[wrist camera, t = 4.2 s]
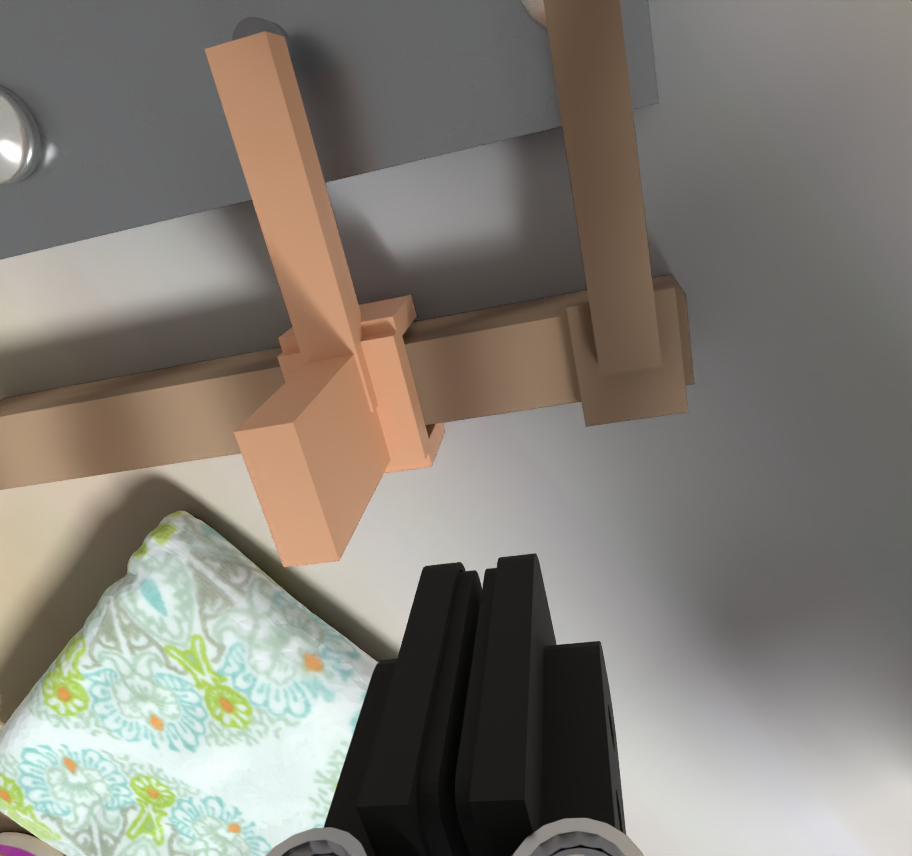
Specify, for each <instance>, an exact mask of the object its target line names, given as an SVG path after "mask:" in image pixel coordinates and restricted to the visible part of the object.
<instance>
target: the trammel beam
mask: <svg viewBox="0 0 912 856" xmlns="http://www.w3.org/2000/svg"><path fill="white" fill-rule="evenodd" d="M543 2H544V9H545V16H546V22H547V29H548V35H549V42H550V49H551V55H552V62H553V68H554V75H555V81H556V88H557V95H558V101H559V108H560V114H561V121H562V128H563V134H564V141H565V147H566V154H567V160H568V167H569V174H570V180H571V187H572V193H573V200H574V207H575V213H576V220H577V226H578V233H579V239H580V246H581V253H582V259H583V266H584V272H585V279H586V285H587V290H584V291H579V292H574V293H568V294H563V295H558V296H552V297H547V298H541V299H536V300H531V301H525V302H520V303H514V304H509V305H504V306H498V307H493V308H488V309H482V310H477V311H471V312H466V313H461V314H455V315H450V316H444V317H439V318H434V319H428V320H423V321H418V322H412V323H411V325H410V326H409V327H408V329H407V330H406V331H405V333H404V334H403V336H402V337H403V341H404V344H405V348H406V352H407V356H408V360H409V364H410V368H411V372H412V376H413V379H414V383H415V387H416V391H417V395H418V399H419V403H420V407H421V411H422V414H423V418H424V422H425V425H430V424H437V423H443V422H450V421H457V420H463V419H470V418H476V417H483V416H489V415H496V414H503V413H509V412H516V411H522V410H529V409H535V408H542V407H549V406H555V405H562V404H568V403H575V402H581V401H582V407H583V413H584V419H585V425H586V427H588V426H594V425H601V424H608V423H615V422H622V421H629V420H636V419H643V418H650V417H657V416H664V415H671V414H678V413H685V412H688V407H687V397H686V388H685V386H687V385H693V384H694V375H693V364H692V354H691V344H690V334H689V324H688V314H687V304H686V294H685V293H684V291H683V290H682V288H681V287H680V285H679V284H678V282H677V281H676V279H675V278H674V276H673V275H672V274H671V275H665V276H660V277H654V278H652V274H651V266H650V257H649V249H648V240H647V232H646V223H645V214H644V206H643V197H642V189H641V180H640V171H639V163H638V154H637V146H636V137H635V129H634V120H633V111H632V103H631V94H630V86H629V77H628V68H627V60H626V51H625V43H624V34H623V26H622V17H621V8H620V0H543ZM281 353H282V349H281V347H278V348H272V349H267V350H261V351H256V352H251V353H245V354H240V355H235V356H229V357H224V358H218V359H213V360H208V361H202V362H197V363H191V364H186V365H181V366H175V367H170V368H165V369H159V370H154V371H148V372H143V373H138V374H132V375H127V376H121V377H116V378H111V379H105V380H100V381H95V382H89V383H84V384H78V385H73V386H68V387H62V388H57V389H51V390H46V391H41V392H35V393H30V394H25V395H19V396H14V397H8V398H3V399H1V400H0V490H3V489H10V488H16V487H23V486H29V485H36V484H43V483H49V482H56V481H62V480H69V479H75V478H82V477H89V476H95V475H102V474H108V473H115V472H121V471H128V470H135V469H141V468H148V467H154V466H161V465H167V464H174V463H181V462H187V461H194V460H200V459H207V458H213V457H220V456H227V455H233V454H240V453H241V451H240V448H239V445H238V443H237V440H236V437H235V434H234V431H235V430H236V429H237V428H238V427H239V426H241V425H242V424H243V423H244V422H245V421H246V420H247V419H248V418H249V417H250V416H251V415H252V414H253V413H254V412H255V411H256V410H257V409H258V408H259V407H260V406H262V405H263V404H264V403H265V402H266V401H267V400H268V399H269V398H270V397H271V396H272V395H273V394H274V393H275V392H276V391H277V390H278V389H279V388H280V387H281V386H282V385H284V384H285V383H286V382H285V379H284V376H283V373H282V370H281V367H280V364H279V361H278V358H277V357H278V356H279V355H280V354H281Z"/></svg>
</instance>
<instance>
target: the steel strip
mask: <svg viewBox="0 0 912 856" xmlns="http://www.w3.org/2000/svg"><path fill="white" fill-rule="evenodd" d="M620 8H621V17H622V26H623V34H624V43H625V51H626V60H627V68H628V77H629V86H630V94H631V103H632V109H637V108H641V107H645V106H649V105H654V104H658V103H659V102H658V92H657V82H656V73H655V63H654V53H653V44H652V34H651V24H650V15H649V5H648V0H620ZM247 17H258V18H262V19H265V20H268V21H271V22H274V23H276V24H278V25H279V26H281V27H282V28H283V29H284V30H285V32H286V33H287V35H288V37H289V39H290V42H291V48H292V53H291V62H292V66H293V70H294V73H295V77H296V80H297V84H298V88H299V91H300V95H301V98H302V102H303V106H304V109H305V113H306V117H307V120H308V124H309V127H310V131H311V135H312V138H313V142H314V145H315V149H316V153H317V156H318V160H319V163H320V167H321V171H322V174H323V178H324V182H329V181H333V180H337V179H342V178H346V177H350V176H354V175H358V174H363V173H367V172H371V171H375V170H380V169H384V168H388V167H392V166H396V165H401V164H405V163H409V162H413V161H417V160H422V159H426V158H430V157H434V156H439V155H443V154H447V153H451V152H455V151H460V150H464V149H468V148H472V147H476V146H481V145H485V144H489V143H493V142H498V141H502V140H506V139H510V138H514V137H519V136H523V135H527V134H531V133H536V132H540V131H544V130H548V129H552V128H557V127H561V126H562V121H561V114H560V108H559V101H558V95H557V88H556V81H555V75H554V68H553V62H552V55H551V49H550V42H549V35H548V29H547V22H546V16H545V9H544V2H543V0H0V259H4V258H9V257H13V256H17V255H21V254H25V253H30V252H34V251H38V250H42V249H47V248H51V247H55V246H59V245H63V244H68V243H72V242H76V241H80V240H84V239H89V238H93V237H97V236H101V235H106V234H110V233H114V232H118V231H122V230H127V229H131V228H135V227H139V226H143V225H148V224H152V223H156V222H160V221H165V220H169V219H173V218H177V217H181V216H186V215H190V214H194V213H198V212H203V211H207V210H211V209H215V208H219V207H224V206H228V205H232V204H236V203H240V202H245V201H249V200H252V198H251V195H250V191H249V188H248V185H247V182H246V179H245V176H244V172H243V169H242V166H241V163H240V160H239V157H238V154H237V150H236V147H235V144H234V141H233V138H232V135H231V131H230V128H229V125H228V122H227V119H226V116H225V112H224V109H223V106H222V103H221V100H220V97H219V93H218V90H217V87H216V84H215V81H214V78H213V74H212V71H211V68H210V65H209V62H208V59H207V56H206V52H205V49H206V48H210V47H213V46H217V45H220V44H223V43H227V42H230V41H232V36H233V32H234V29H235V27H236V26H237V24H238V23H239V22H240V21H242V20H243V19H245V18H247Z"/></svg>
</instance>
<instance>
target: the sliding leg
mask: <svg viewBox="0 0 912 856" xmlns="http://www.w3.org/2000/svg"><path fill="white" fill-rule="evenodd" d="M205 52H206V56H207V59H208V62H209V65H210V68H211V71H212V74H213V78H214V81H215V84H216V87H217V90H218V93H219V97H220V100H221V103H222V106H223V109H224V112H225V116H226V119H227V122H228V125H229V128H230V131H231V135H232V138H233V141H234V144H235V147H236V150H237V154H238V157H239V160H240V163H241V166H242V169H243V172H244V176H245V179H246V182H247V185H248V188H249V191H250V195H251V198H252V201H253V204H254V207H255V210H256V214H257V217H258V220H259V223H260V226H261V229H262V233H263V236H264V239H265V242H266V245H267V248H268V252H269V255H270V258H271V261H272V264H273V267H274V271H275V274H276V277H277V280H278V283H279V286H280V289H281V293H282V296H283V299H284V302H285V305H286V308H287V312H288V315H289V318H290V321H291V324H292V328H290V329H289V330H288V331H286V332H285V333H284V334H283V335H281V336H280V337H279V338H278V339H279V342H280V346H281V349H282V353H281V354H280V355H279V356H278V357H277V358H278V361H279V364H280V367H281V370H282V373H283V376H284V379H285V382H286V383H285V384H284V385H282V386H281V387H280V388H279V389H278V390H277V391H276V392H275V393H274V394H273V395H272V396H271V397H270V398H269V399H268V400H267V401H266V402H265V403H264V404H263V405H262V406H260V407H259V408H258V409H257V410H256V411H255V412H254V413H253V414H252V415H251V416H250V417H249V418H248V419H247V420H246V421H245V422H244V423H243V424H242V425H241V426H239V427H238V428H237V429H236V430H235V431H234V434H235V437H236V440H237V443H238V445H239V448H240V451H241V453H242V456H243V459H244V461H245V464H246V467H247V470H248V472H249V475H250V478H251V480H252V483H253V486H254V489H255V491H256V494H257V497H258V499H259V502H260V505H261V507H262V510H263V513H264V516H265V518H266V521H267V524H268V526H269V529H270V532H271V535H272V537H273V540H274V543H275V545H276V548H277V551H278V553H279V556H280V559H281V562H282V564H283V567H289V566H298V565H307V564H316V563H325V562H334V561H339V560H340V558H341V557H342V555H343V553H344V551H345V549H346V547H347V545H348V543H349V541H350V539H351V537H352V535H353V533H354V531H355V529H356V527H357V525H358V523H359V521H360V519H361V517H362V515H363V513H364V511H365V509H366V507H367V505H368V503H369V501H370V499H371V497H372V495H373V494H374V492H375V490H376V488H377V486H378V484H379V482H380V480H381V478H382V476H383V474H384V473H389V472H396V471H403V470H411V469H418V468H425V467H432V465H433V462H434V460H435V457H436V454H437V452H438V449H439V446H440V444H441V441H442V439H443V436H444V433H445V428H444V424H443V423H437V424H430V425H425V422H424V418H423V414H422V411H421V407H420V403H419V399H418V395H417V391H416V387H415V383H414V379H413V376H412V372H411V368H410V364H409V360H408V356H407V352H406V348H405V344H404V341H403V337H402V336H403V334H404V333H405V331H406V330H407V329H408V327H409V326H410V325H411V323H412V322H413V321H414V319H415V318H416V317H417V315H416V311H415V307H414V303H413V299H412V295H407V296H402V297H397V298H391V299H386V300H381V301H376V302H371V303H366V304H361V305H359V304H358V301H357V297H356V294H355V290H354V286H353V283H352V279H351V276H350V272H349V268H348V265H347V261H346V257H345V254H344V250H343V247H342V243H341V239H340V236H339V232H338V229H337V225H336V221H335V218H334V214H333V210H332V207H331V203H330V200H329V196H328V192H327V189H326V185H325V182H324V178H323V174H322V171H321V167H320V163H319V160H318V156H317V153H316V149H315V145H314V142H313V138H312V135H311V131H310V127H309V124H308V120H307V117H306V113H305V109H304V106H303V102H302V98H301V95H300V91H299V88H298V84H297V80H296V77H295V73H294V70H293V66H292V62H291V53H292V48H291V42H290V39H289V37H288V35H287V33H286V32H285V30H284V29H283V28H282V27H281V26H279V25H278V24H276V23H274V22H271V21H268V20H265V19H262V18H258V17H247V18H245V19H243V20H242V21H240V22H239V23H238V24H237V26H236V27H235V29H234V32H233V36H232V41H230V42H227V43H223V44H220V45H217V46H213V47H210V48H206V49H205Z"/></svg>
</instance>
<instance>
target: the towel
mask: <svg viewBox="0 0 912 856" xmlns="http://www.w3.org/2000/svg"><path fill="white" fill-rule="evenodd" d="M377 663H378V662H377V661H376V660H374V659H373V658H371V657H370V656H369V655H368V654H367V653H365V652H364V651H362V650H361V649H360V648H358V647H357V646H356V645H355V644H354V643H352V642H351V641H350V640H348V639H347V638H346V637H345V636H343V635H342V634H341V633H339V632H338V631H336V630H335V629H334V628H333V627H331V626H330V625H328V624H327V623H326V622H324V621H323V620H322V619H320V618H319V617H318V616H316V615H315V614H313V613H312V612H310V611H309V610H308V609H307V608H306V607H305V606H304V605H302V604H301V603H300V602H298V601H297V600H296V599H295V598H293V597H292V596H291V595H290V594H289V593H287V592H286V591H285V590H284V589H283V588H282V587H281V586H280V585H278V584H277V583H276V582H274V581H273V580H272V579H271V578H270V577H269V576H268V575H267V574H266V573H265V572H263V571H262V570H261V569H260V568H258V567H257V566H256V565H255V564H254V563H253V562H252V561H250V560H249V559H248V558H247V557H246V556H244V555H243V554H242V553H241V552H240V551H239V550H238V549H237V548H236V547H234V546H233V545H232V544H231V543H230V542H229V541H227V540H226V539H225V538H224V537H223V536H221V535H220V534H219V533H218V532H216V531H215V530H214V529H212V528H211V527H210V526H208V525H207V524H205V523H204V522H203V521H201V520H199V519H196V518H195V517H193V516H192V515H191V514H189V513H188V512H186V511H176V512H174V513H171V514H169V515H167V516H165V517H164V518H163V519H162V520H161V521H160V523H159V525H158V526H157V528H155V529H154V530H153V531H151V532H150V533H149V534H148V535H147V536H146V538H145V539H144V541H143V543H142V545H141V546H140V548H139V549H138V550H137V551H135V552H134V553H133V554H132V556H131V557H130V559H129V561H128V563H127V574H126V576H125V577H123V578H122V579H120V580H118V581H116V582H115V583H114V584H112V585H111V586H110V587H108V588H107V589H106V590H105V592H104V593H103V595H102V596H101V598H100V600H99V602H98V604H97V606H96V607H95V609H94V610H93V611H92V613H91V614H90V615H89V616H88V618H87V619H86V622H85V624H84V627H83V628H82V629H81V630H80V631H79V632H77V633H76V634H75V635H74V636H73V637H72V638H71V639H70V641H69V642H68V643H67V645H66V646H65V647H64V649H63V650H62V652H61V653H60V654H59V655H58V657H57V658H56V659H55V660H54V661H53V663H52V664H51V665H50V667H49V668H48V669H47V671H46V672H45V673H44V674H43V676H42V677H41V678H40V679H39V680H38V681H37V682H36V684H35V685H34V686H33V688H32V689H31V691H30V692H29V694H28V695H27V696H26V697H25V699H24V700H23V701H22V702H21V704H20V705H19V706H18V708H17V709H16V710H15V711H14V713H13V714H12V716H11V717H10V718H9V720H8V721H7V722H6V724H5V725H4V726H3V727H2V728H1V730H0V811H1V812H2V813H4V814H5V815H7V816H8V817H9V818H11V819H12V820H13V821H15V822H16V823H17V824H19V825H20V826H22V827H23V828H25V829H26V830H28V831H29V832H31V833H32V834H33V835H35V836H36V837H38V838H39V839H41V840H42V841H44V842H45V843H47V844H49V845H50V846H52V847H53V848H55V849H57V850H58V851H60V852H62V853H63V854H65V855H66V856H265V855H267V854H268V853H269V852H270V851H271V850H272V849H273V848H274V847H275V846H276V845H278V844H280V843H281V842H283V841H284V840H286V839H288V838H289V837H291V836H292V835H294V834H297V833H300V832H303V831H306V830H309V829H312V828H324V824H325V821H326V818H327V815H328V812H329V809H330V805H331V802H332V799H333V796H334V793H335V790H336V787H337V783H338V780H339V777H340V774H341V771H342V768H343V764H344V761H345V758H346V755H347V752H348V749H349V746H350V742H351V739H352V736H353V733H354V730H355V727H356V723H357V720H358V717H359V714H360V711H361V708H362V705H363V701H364V698H365V695H366V692H367V689H368V686H369V682H370V679H371V676H372V673H373V671H374V669H375V666H376V664H377Z"/></svg>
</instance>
